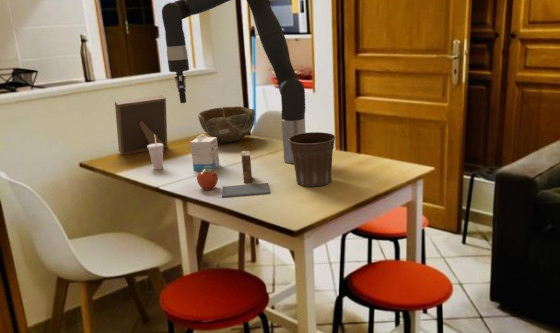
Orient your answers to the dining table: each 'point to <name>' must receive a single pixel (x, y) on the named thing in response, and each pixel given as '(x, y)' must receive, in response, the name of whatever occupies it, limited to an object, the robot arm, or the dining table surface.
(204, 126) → the bowl
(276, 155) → the dining table surface
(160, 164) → the smoothie
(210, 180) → the tomato
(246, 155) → the walnut slab
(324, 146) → the plant pot
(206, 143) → the milk carton
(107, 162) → the dining table surface
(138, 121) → the photo frame
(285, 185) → the dining table surface
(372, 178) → the dining table surface
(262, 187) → the mat
